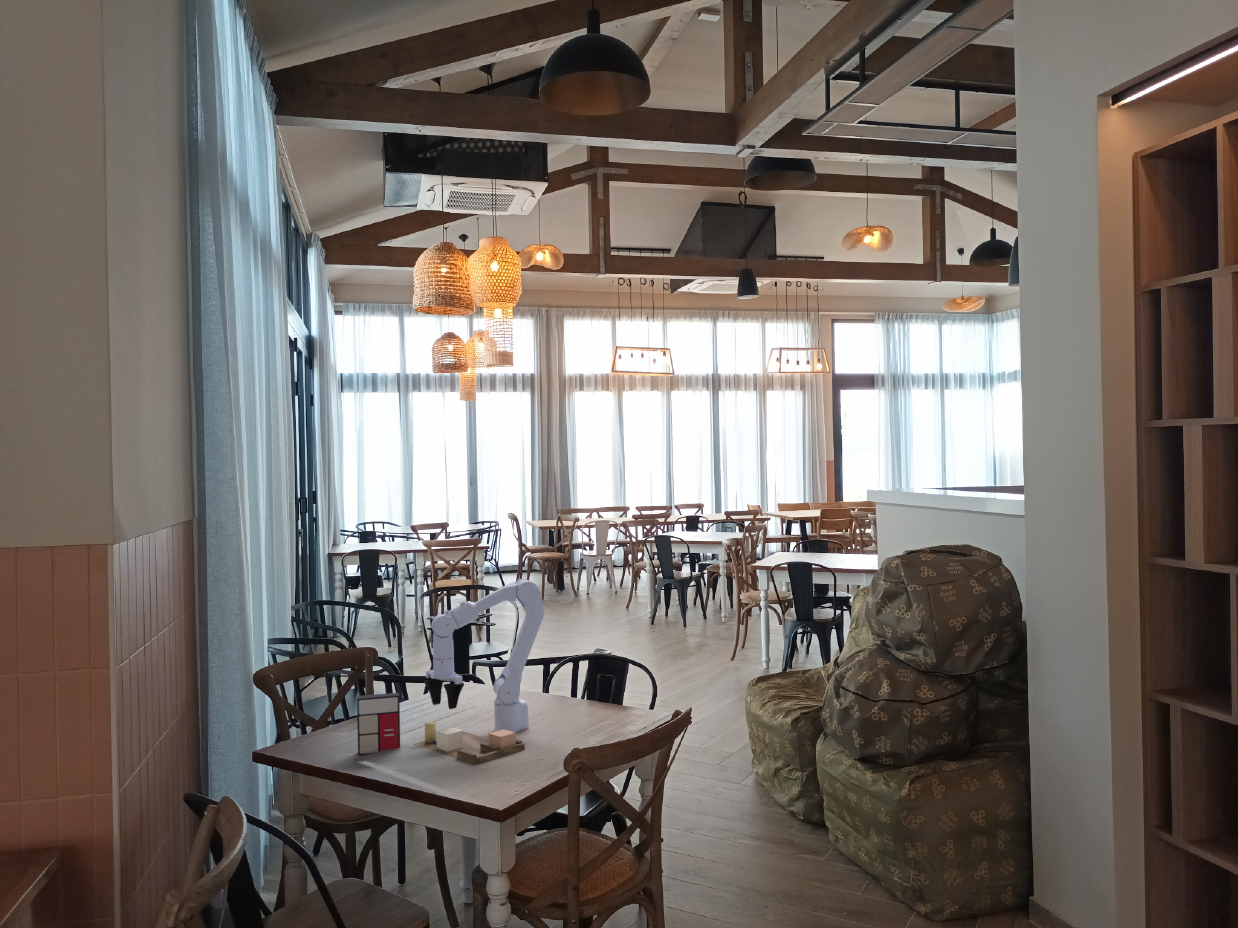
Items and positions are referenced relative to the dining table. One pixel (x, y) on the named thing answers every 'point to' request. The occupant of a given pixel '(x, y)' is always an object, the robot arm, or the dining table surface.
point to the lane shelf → (475, 749)
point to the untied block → (502, 738)
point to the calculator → (378, 722)
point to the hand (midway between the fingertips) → (444, 706)
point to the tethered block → (444, 737)
